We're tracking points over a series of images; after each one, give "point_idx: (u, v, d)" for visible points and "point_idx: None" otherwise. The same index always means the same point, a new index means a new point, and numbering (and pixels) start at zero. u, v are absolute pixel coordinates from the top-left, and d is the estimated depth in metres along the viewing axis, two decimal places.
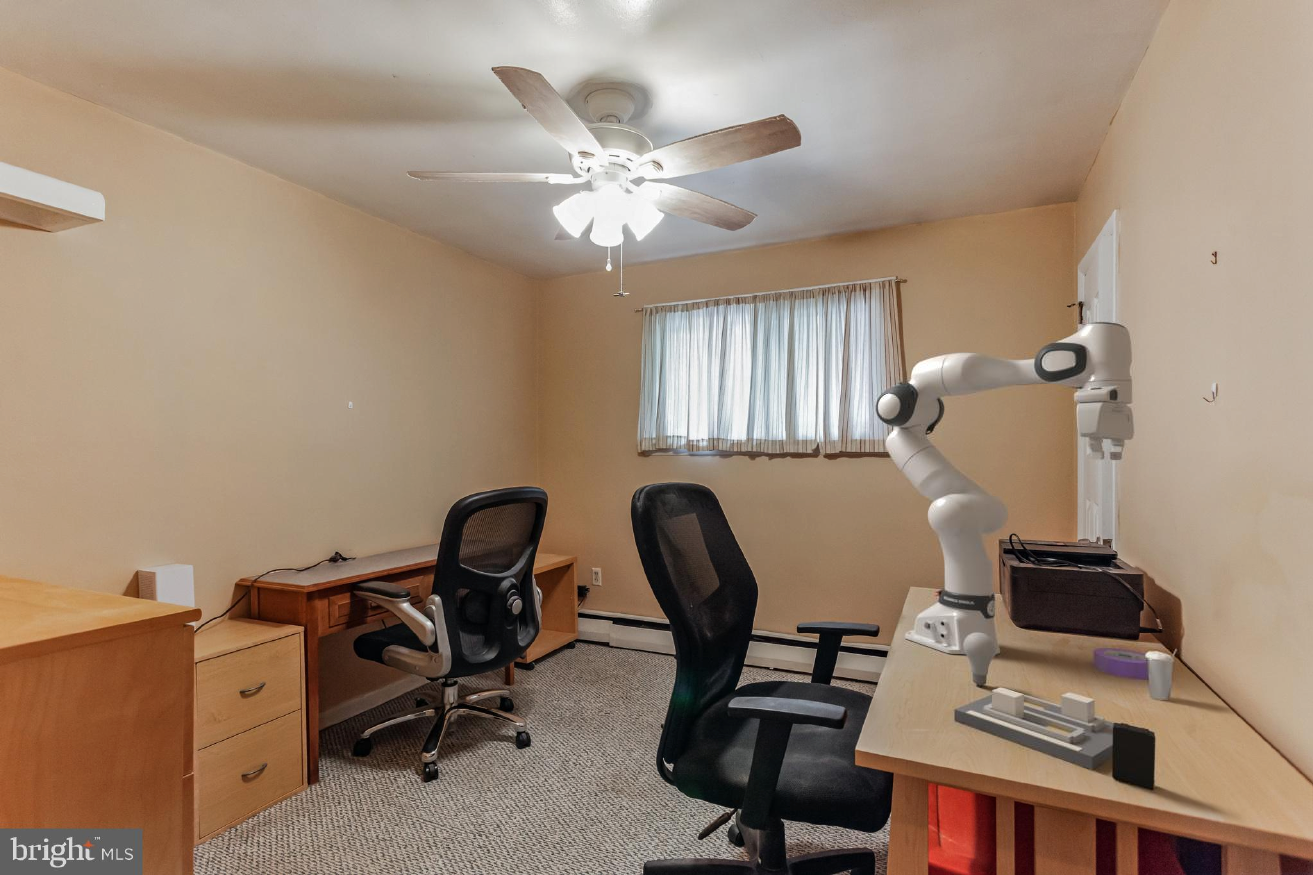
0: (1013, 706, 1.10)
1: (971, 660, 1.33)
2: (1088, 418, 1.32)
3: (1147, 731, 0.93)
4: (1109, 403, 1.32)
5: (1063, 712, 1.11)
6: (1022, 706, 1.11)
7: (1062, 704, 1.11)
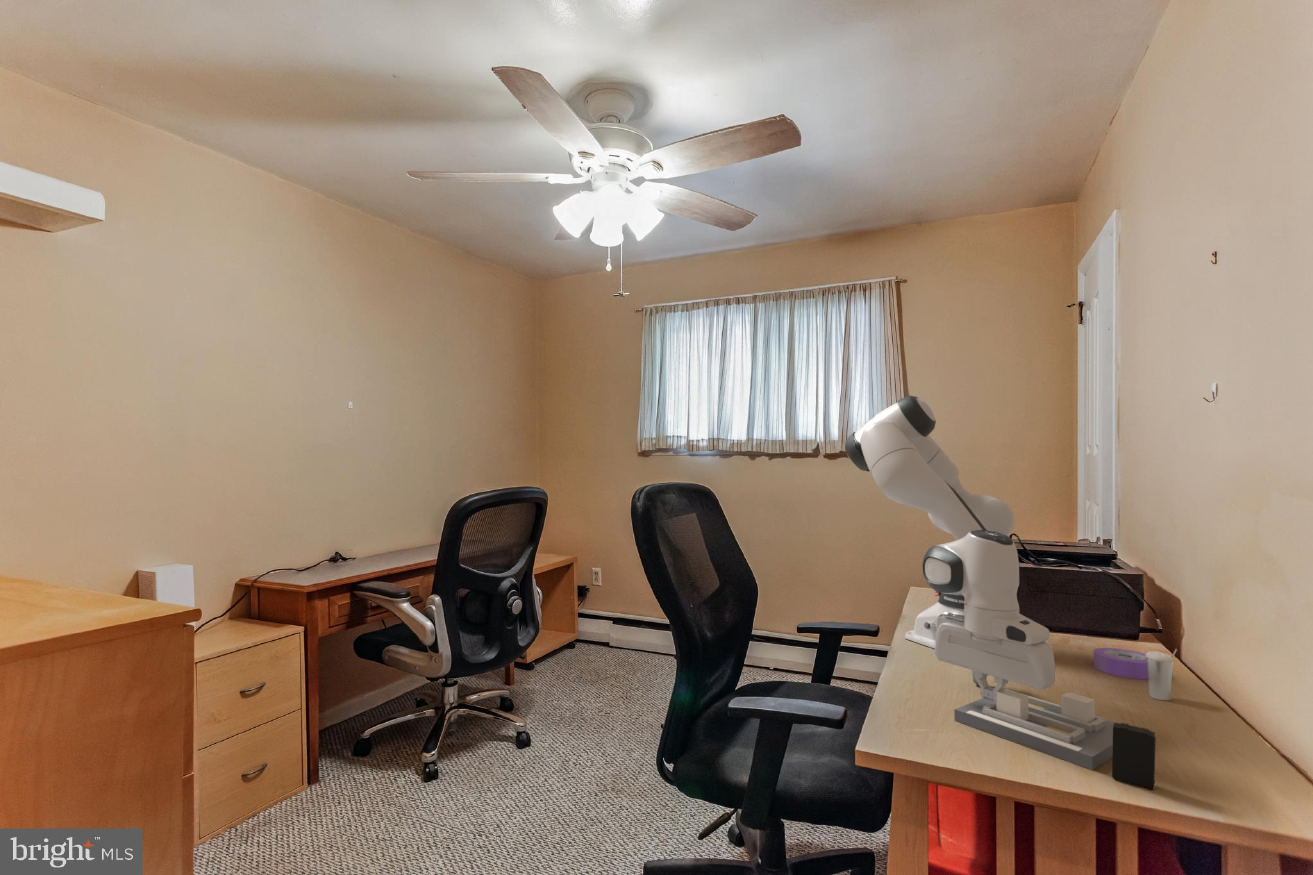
0: (1018, 708, 1.10)
1: None
2: (1050, 666, 1.07)
3: (1147, 731, 0.93)
4: None
5: (1063, 712, 1.11)
6: (1027, 707, 1.11)
7: (1062, 704, 1.11)
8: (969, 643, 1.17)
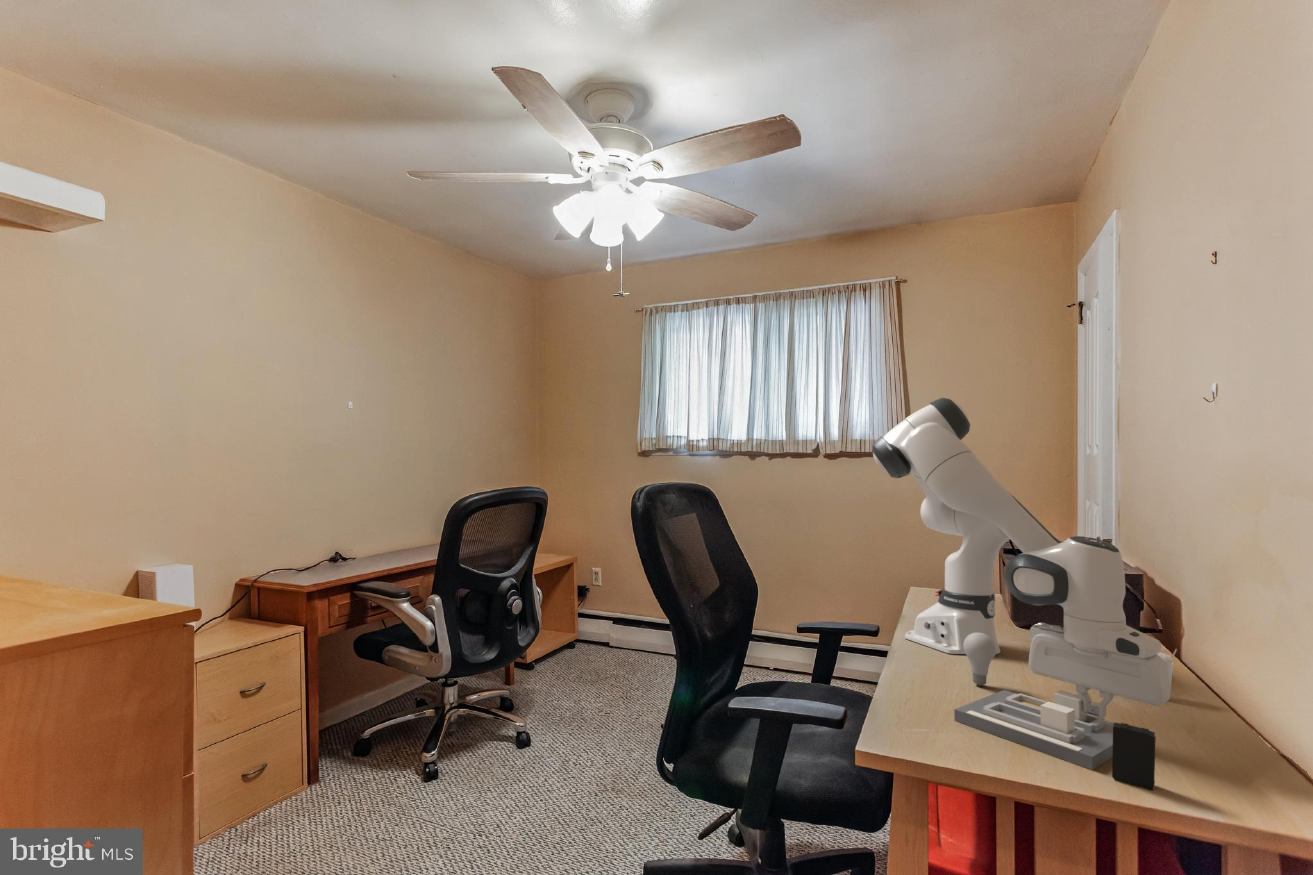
0: (1064, 722, 1.04)
1: (971, 660, 1.33)
2: (1165, 681, 1.01)
3: (1147, 731, 0.93)
4: None
5: None
6: (1073, 722, 1.05)
7: (1054, 702, 1.12)
8: (1069, 656, 1.11)
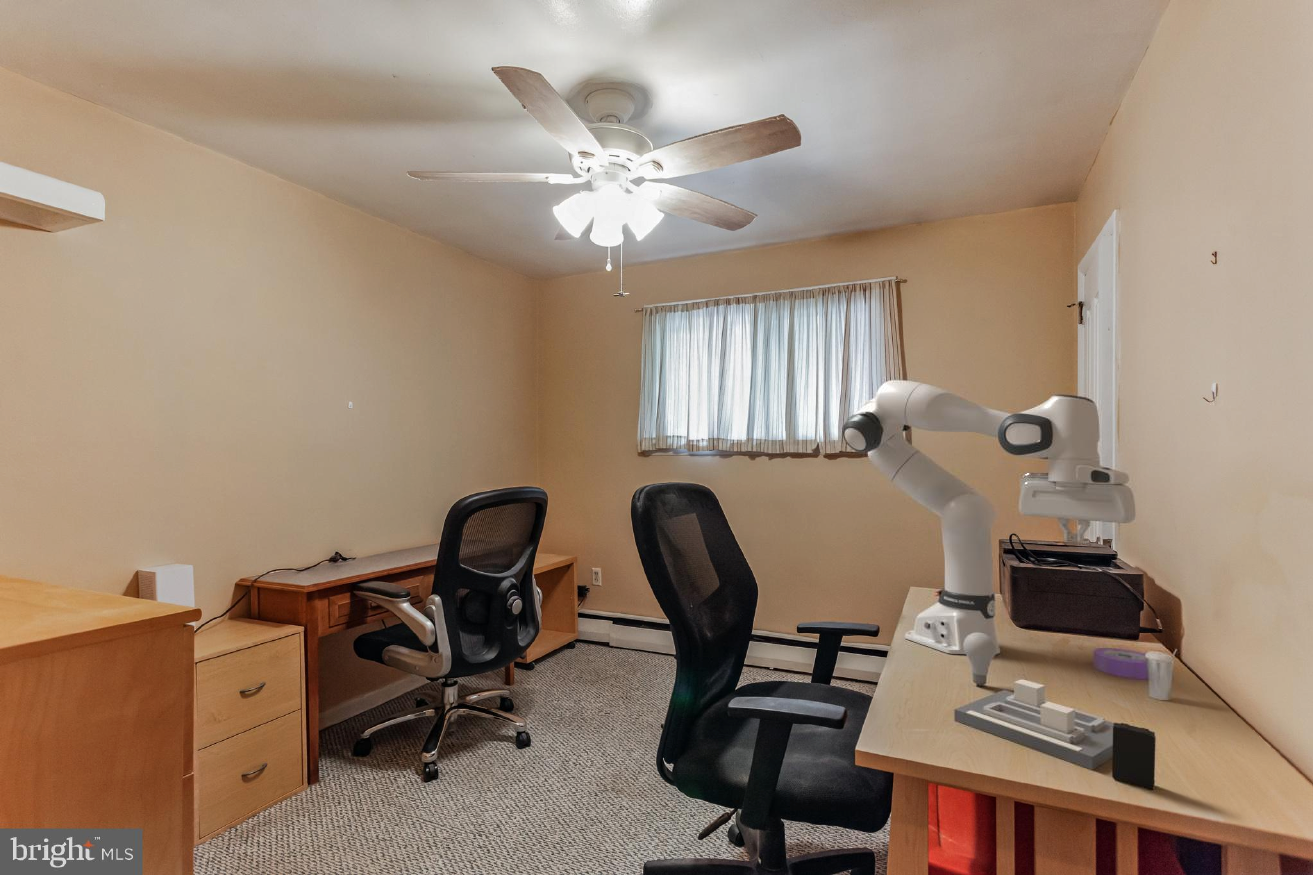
0: (1064, 722, 1.04)
1: (971, 660, 1.33)
2: (1131, 503, 1.21)
3: (1147, 731, 0.93)
4: None
5: (1016, 698, 1.18)
6: (1073, 722, 1.05)
7: (1014, 690, 1.18)
8: (1053, 495, 1.31)
